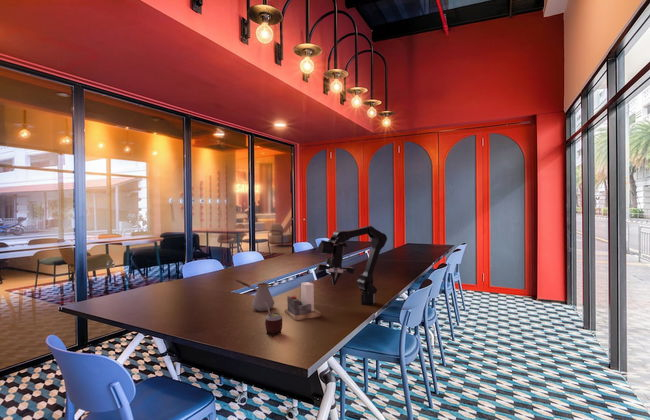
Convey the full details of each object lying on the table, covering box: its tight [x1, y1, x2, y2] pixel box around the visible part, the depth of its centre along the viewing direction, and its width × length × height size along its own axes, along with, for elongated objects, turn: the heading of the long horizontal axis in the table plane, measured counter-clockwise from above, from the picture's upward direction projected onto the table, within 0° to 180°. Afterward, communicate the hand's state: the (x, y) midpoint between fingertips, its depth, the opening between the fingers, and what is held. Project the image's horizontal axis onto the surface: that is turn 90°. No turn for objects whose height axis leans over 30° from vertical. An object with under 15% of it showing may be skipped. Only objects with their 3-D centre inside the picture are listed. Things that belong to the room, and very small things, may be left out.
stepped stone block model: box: [284, 295, 322, 321], centre depth 168 cm, size 14×14×10 cm
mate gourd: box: [263, 301, 283, 337], centre depth 142 cm, size 8×8×15 cm
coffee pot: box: [234, 279, 275, 312], centre depth 179 cm, size 21×12×15 cm, turn 80°
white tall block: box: [300, 281, 315, 311], centre depth 169 cm, size 4×6×13 cm, turn 27°
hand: (333, 285), depth 176 cm, fingers closed
